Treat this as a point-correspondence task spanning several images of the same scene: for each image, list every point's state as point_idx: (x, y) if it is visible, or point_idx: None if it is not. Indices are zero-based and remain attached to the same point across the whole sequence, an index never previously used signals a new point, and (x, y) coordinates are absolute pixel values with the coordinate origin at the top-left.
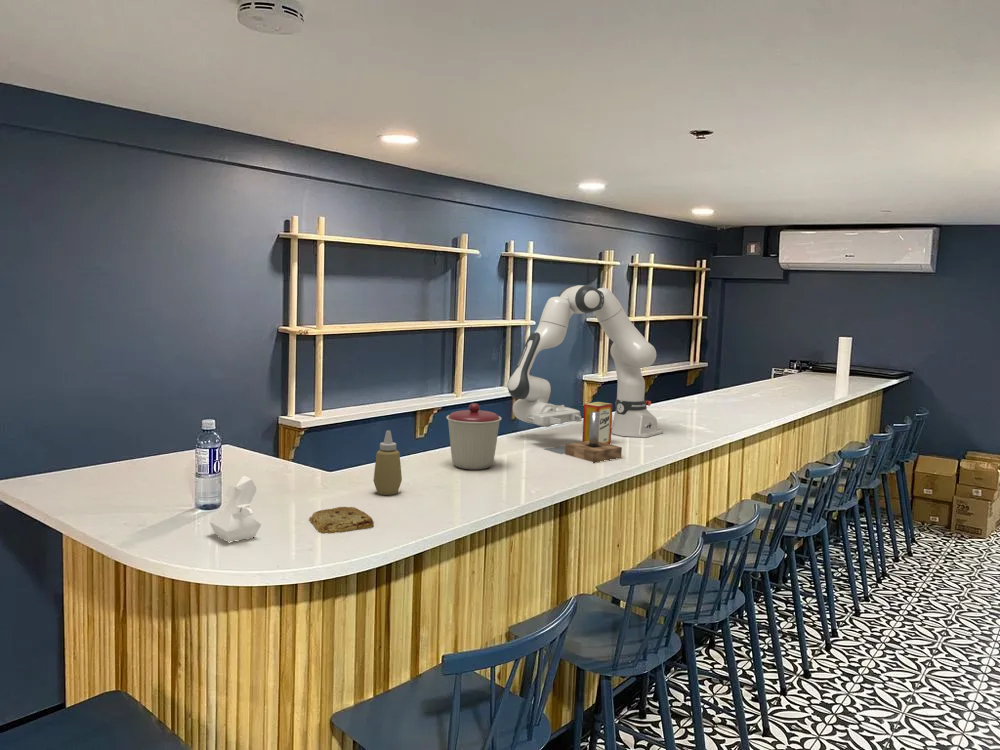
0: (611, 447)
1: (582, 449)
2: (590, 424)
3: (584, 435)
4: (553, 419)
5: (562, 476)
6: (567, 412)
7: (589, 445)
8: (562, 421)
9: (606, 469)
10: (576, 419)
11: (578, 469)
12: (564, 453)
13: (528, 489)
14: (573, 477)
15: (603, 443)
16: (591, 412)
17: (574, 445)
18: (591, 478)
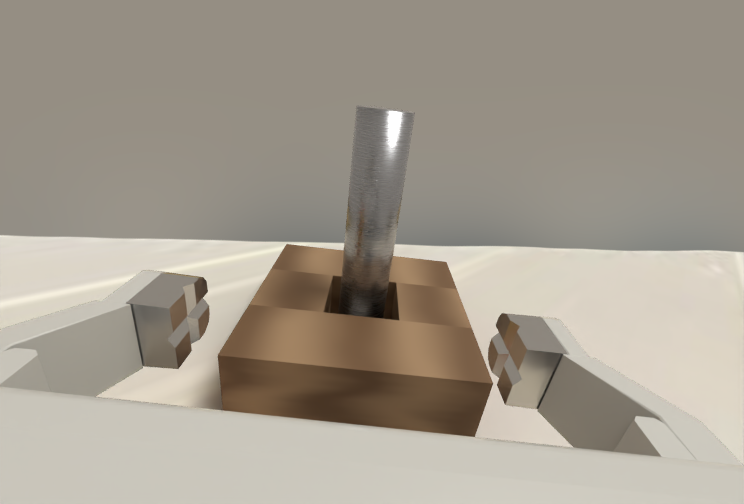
0: (323, 257)
1: (458, 297)
2: (402, 190)
3: None
4: (640, 406)
5: (614, 284)
6: (21, 436)
7: (385, 299)
8: (501, 331)
9: (448, 262)
10: (189, 330)
11: (534, 292)
12: None
13: (730, 277)
14: (583, 270)
15: (269, 294)
16: (408, 112)
17: (453, 341)
18: (537, 253)
